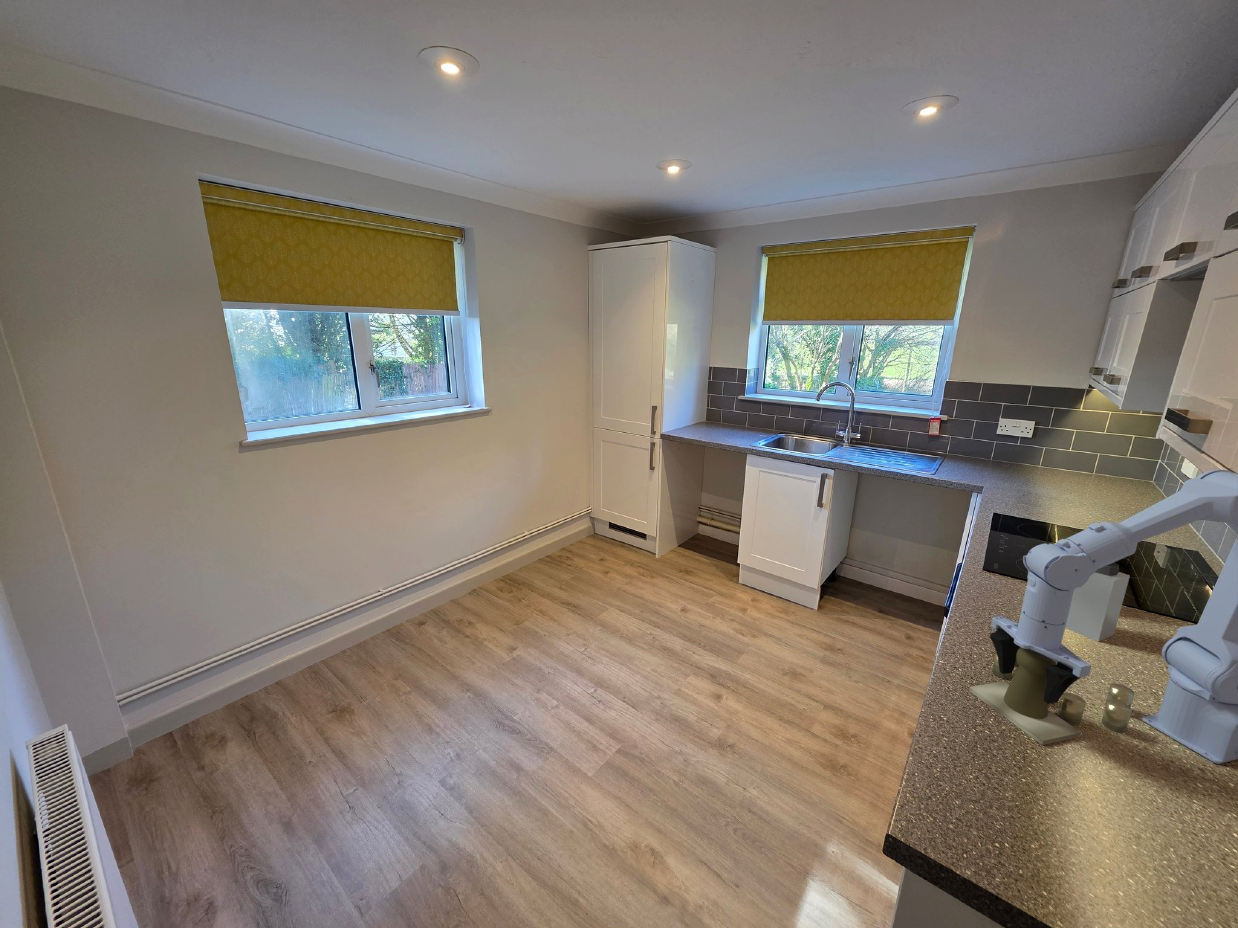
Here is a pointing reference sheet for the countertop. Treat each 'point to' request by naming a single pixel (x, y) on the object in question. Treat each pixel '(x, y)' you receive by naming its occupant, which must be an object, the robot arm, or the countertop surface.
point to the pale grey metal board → (1036, 728)
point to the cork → (1029, 684)
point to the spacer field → (1074, 705)
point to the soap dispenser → (1098, 603)
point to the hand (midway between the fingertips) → (1027, 686)
